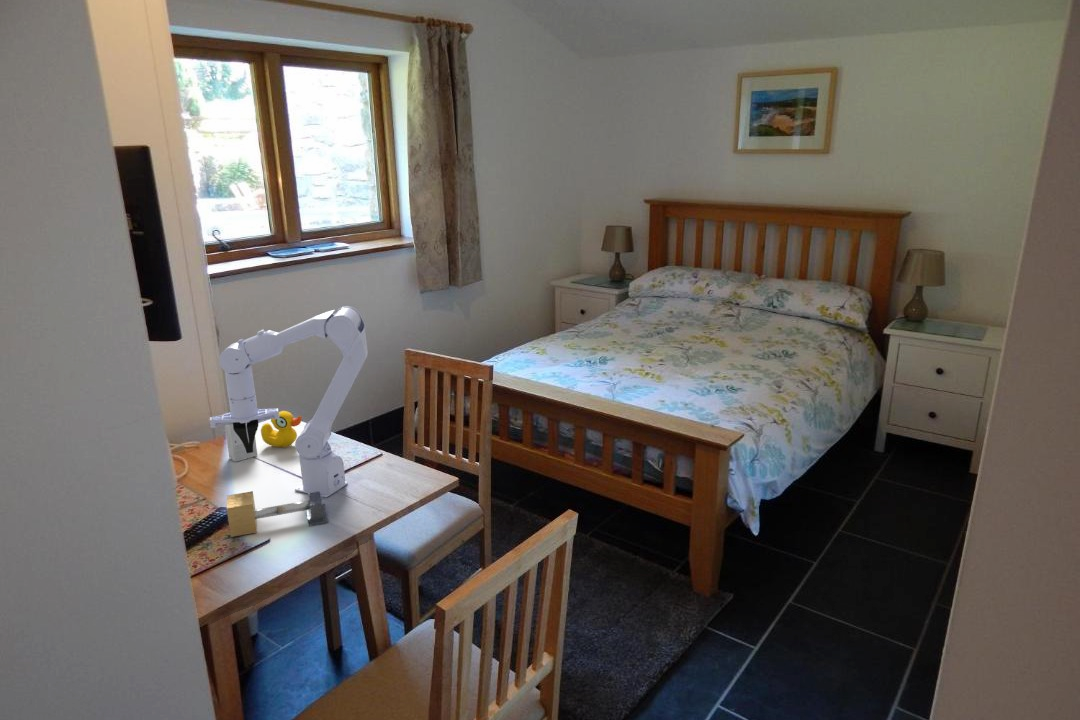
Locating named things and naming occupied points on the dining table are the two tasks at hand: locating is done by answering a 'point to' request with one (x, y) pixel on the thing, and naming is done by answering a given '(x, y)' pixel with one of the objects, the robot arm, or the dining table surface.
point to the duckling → (281, 430)
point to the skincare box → (237, 445)
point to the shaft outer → (266, 512)
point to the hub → (241, 514)
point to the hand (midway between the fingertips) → (249, 451)
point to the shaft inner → (293, 507)
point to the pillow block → (316, 510)
